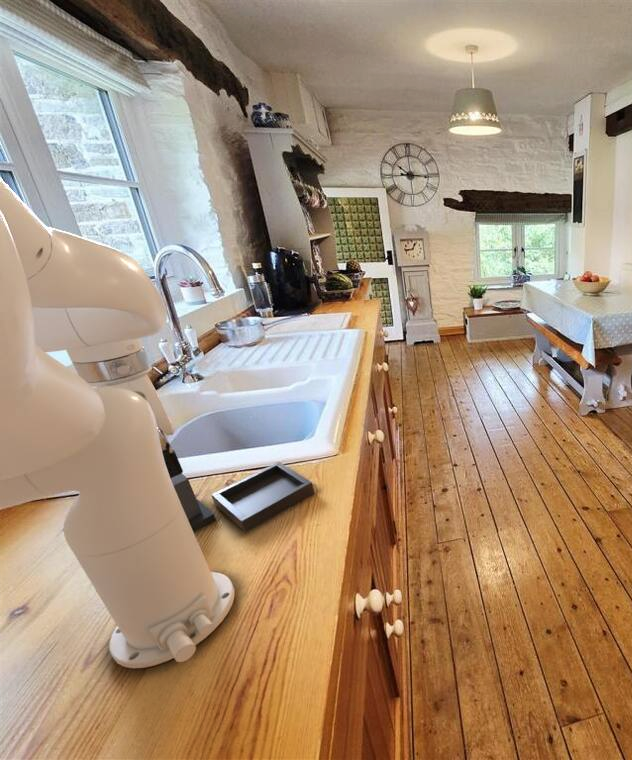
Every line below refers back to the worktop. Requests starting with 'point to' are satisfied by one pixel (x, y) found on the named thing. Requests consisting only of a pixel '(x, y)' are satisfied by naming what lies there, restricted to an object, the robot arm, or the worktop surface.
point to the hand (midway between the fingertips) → (159, 466)
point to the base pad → (262, 495)
